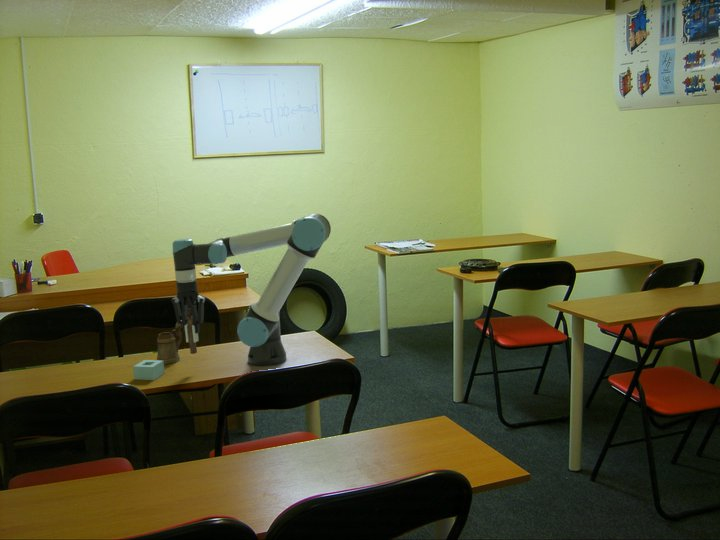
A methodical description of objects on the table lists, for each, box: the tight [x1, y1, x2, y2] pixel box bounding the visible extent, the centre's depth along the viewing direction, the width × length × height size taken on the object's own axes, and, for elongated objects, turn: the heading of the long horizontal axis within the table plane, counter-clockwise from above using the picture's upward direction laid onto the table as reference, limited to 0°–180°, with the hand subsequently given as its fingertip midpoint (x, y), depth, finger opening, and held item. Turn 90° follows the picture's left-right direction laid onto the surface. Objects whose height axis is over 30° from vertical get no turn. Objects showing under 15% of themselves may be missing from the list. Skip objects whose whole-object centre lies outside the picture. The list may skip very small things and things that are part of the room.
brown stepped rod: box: [187, 307, 198, 355], centre depth 263 cm, size 2×2×17 cm
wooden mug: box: [156, 322, 183, 365], centre depth 280 cm, size 9×14×18 cm, turn 125°
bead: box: [132, 359, 165, 381], centre depth 261 cm, size 8×8×5 cm
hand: (192, 341), depth 264 cm, fingers closed on brown stepped rod, 2 cm apart
